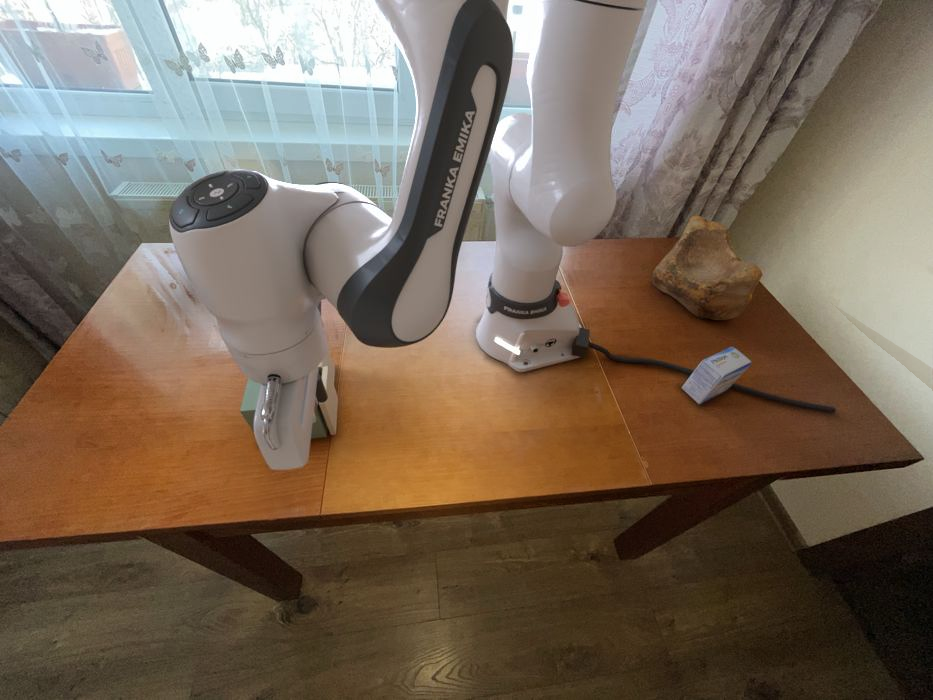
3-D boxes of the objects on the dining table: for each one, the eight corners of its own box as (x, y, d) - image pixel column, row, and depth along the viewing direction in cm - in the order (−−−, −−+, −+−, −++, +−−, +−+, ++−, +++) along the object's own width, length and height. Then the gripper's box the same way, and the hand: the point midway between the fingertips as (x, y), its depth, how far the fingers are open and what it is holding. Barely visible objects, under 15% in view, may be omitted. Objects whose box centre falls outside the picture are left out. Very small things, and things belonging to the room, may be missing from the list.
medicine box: (698, 405, 74) (724, 377, 67) (679, 387, 76) (703, 358, 70) (726, 391, 76) (754, 362, 70) (708, 374, 79) (732, 344, 72)
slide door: (340, 398, 69) (324, 344, 59) (338, 434, 65) (320, 382, 54) (331, 399, 69) (312, 345, 58) (328, 435, 64) (307, 383, 54)
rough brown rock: (627, 266, 102) (647, 214, 90) (689, 259, 103) (716, 207, 92) (670, 334, 88) (701, 283, 76) (741, 325, 89) (781, 273, 77)
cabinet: (335, 369, 74) (324, 333, 67) (330, 436, 65) (317, 404, 58) (275, 373, 72) (257, 338, 65) (261, 443, 63) (239, 411, 56)
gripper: (300, 426, 34) (330, 490, 45) (320, 276, 48) (339, 352, 58) (221, 434, 33) (270, 497, 44) (263, 279, 47) (294, 355, 57)
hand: (310, 413), depth 51 cm, fingers closed
